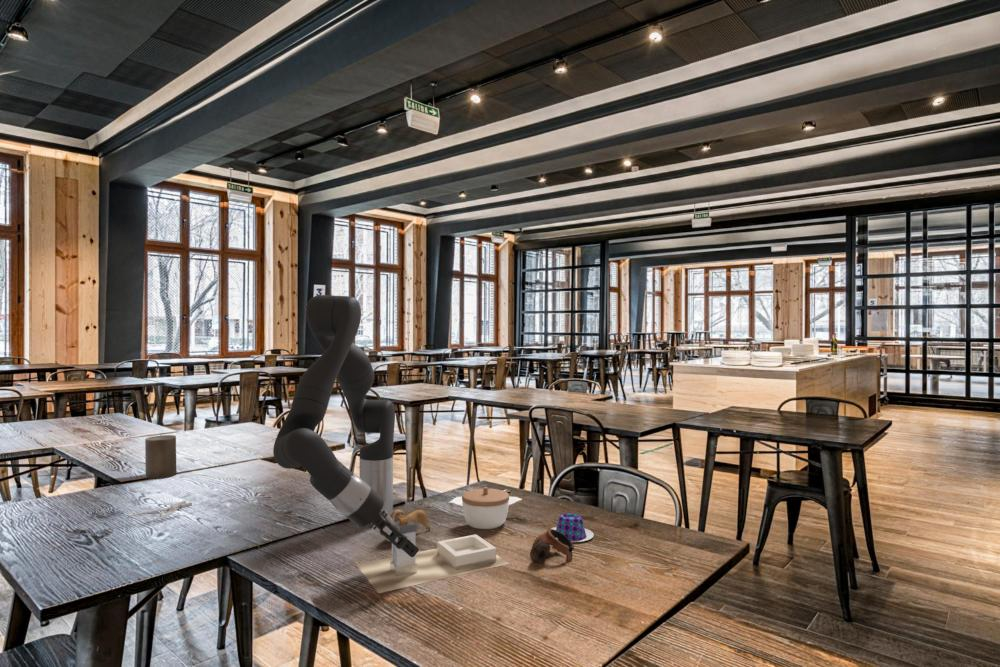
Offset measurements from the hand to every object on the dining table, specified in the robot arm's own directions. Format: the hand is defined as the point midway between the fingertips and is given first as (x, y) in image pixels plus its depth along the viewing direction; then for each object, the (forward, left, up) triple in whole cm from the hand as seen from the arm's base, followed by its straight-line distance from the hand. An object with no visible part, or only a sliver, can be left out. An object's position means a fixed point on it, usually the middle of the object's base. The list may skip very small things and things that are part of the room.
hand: (410, 547), depth 128 cm
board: (-1, +5, -6) cm, 9 cm away
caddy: (0, +13, -5) cm, 14 cm away
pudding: (-4, +45, -7) cm, 46 cm away
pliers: (-75, -46, -7) cm, 89 cm away
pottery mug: (+8, +30, -7) cm, 32 cm away
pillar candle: (-123, -48, -7) cm, 132 cm away
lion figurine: (-21, +8, -7) cm, 23 cm away
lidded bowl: (-19, +28, -7) cm, 35 cm away
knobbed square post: (0, -2, -5) cm, 5 cm away
